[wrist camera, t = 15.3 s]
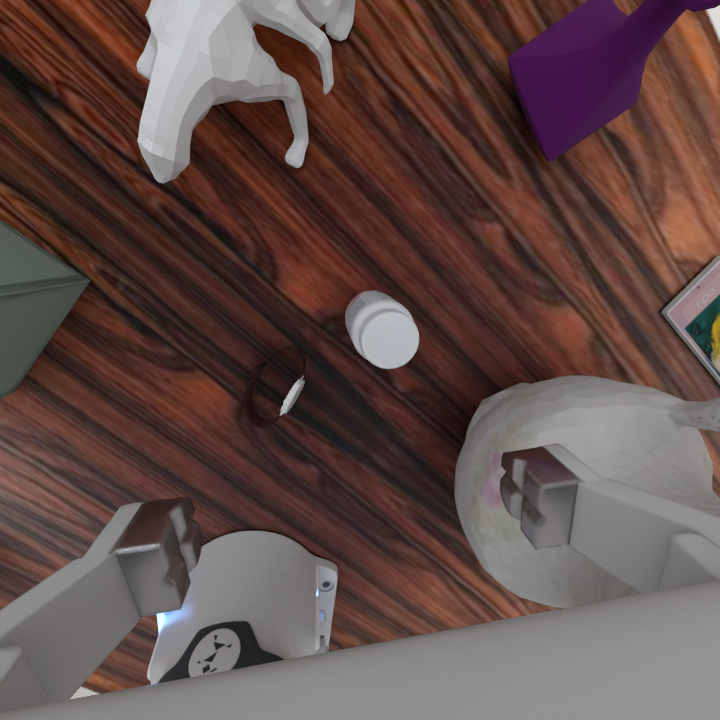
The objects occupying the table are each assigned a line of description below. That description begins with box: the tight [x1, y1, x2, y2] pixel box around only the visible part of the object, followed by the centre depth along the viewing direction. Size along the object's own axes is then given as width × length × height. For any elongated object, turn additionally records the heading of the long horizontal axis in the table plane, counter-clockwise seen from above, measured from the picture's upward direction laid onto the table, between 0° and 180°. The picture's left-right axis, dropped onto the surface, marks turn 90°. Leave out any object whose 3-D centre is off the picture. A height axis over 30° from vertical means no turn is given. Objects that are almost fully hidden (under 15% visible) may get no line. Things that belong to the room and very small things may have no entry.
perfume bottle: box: [508, 0, 720, 161], centre depth 20 cm, size 8×8×18 cm
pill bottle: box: [345, 290, 419, 369], centre depth 28 cm, size 5×5×8 cm
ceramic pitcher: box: [455, 375, 720, 608], centre depth 26 cm, size 22×20×25 cm
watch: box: [244, 346, 306, 428], centre depth 31 cm, size 8×5×4 cm, turn 151°
